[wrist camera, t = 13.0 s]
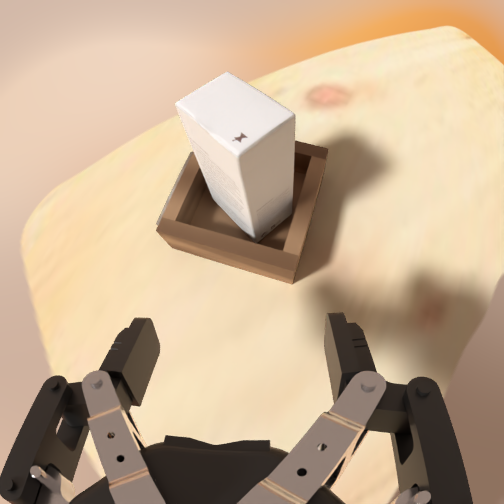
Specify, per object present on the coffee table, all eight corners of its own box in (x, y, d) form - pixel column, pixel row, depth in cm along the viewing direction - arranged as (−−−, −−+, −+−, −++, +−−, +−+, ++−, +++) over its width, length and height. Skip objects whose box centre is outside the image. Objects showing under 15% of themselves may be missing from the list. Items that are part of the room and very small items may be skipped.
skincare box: (293, 213, 26) (300, 114, 15) (256, 245, 25) (236, 159, 14) (247, 170, 28) (227, 68, 17) (210, 198, 27) (170, 103, 16)
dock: (197, 146, 31) (188, 121, 27) (323, 174, 28) (328, 148, 24) (152, 241, 28) (134, 224, 24) (292, 284, 25) (294, 271, 21)
